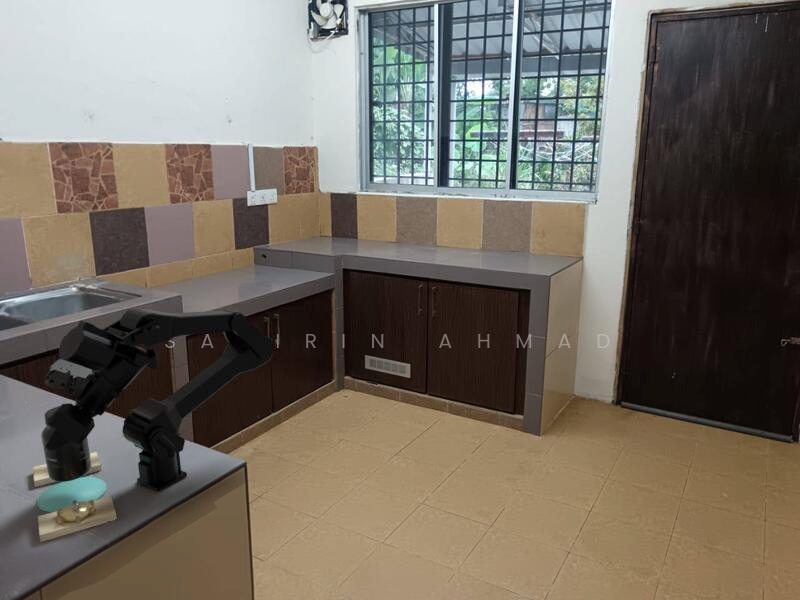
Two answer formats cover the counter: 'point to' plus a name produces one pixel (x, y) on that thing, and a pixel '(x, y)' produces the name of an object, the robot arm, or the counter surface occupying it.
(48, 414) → the supplement bottle
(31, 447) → the counter surface
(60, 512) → the brass gears
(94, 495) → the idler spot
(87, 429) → the robot arm
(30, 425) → the counter surface
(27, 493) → the counter surface
